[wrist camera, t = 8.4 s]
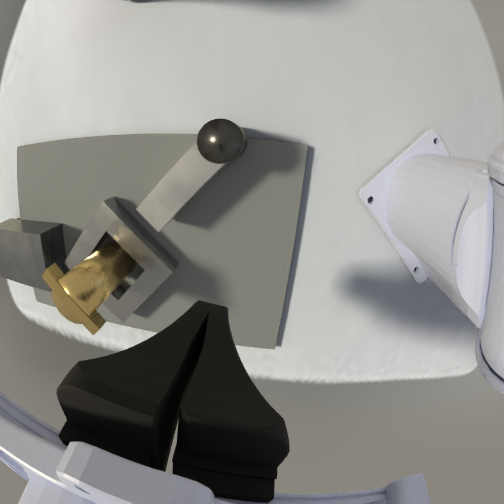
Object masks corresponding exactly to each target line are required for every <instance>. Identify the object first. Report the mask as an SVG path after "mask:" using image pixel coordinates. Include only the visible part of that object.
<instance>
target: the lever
mask: <svg viewBox="0 0 504 504" xmlns="http://www.w3.org/2000/svg"><path fill="white" fill-rule="evenodd" d="M247 143H248V141H247V136H246V133H245V132H244V130H243V129H242V128H241V127H239V126H238V125H236V124H235V123H233V122H232V121H229V120H227V119H214V120H211V121H209V122H208V123H206V124H205V125H204V126H203V127H202V128H201V130H200V131H199V133H198V136H197V142H196V143H195V144H194V145H193V146H192V147H191V148H190V149H189V150H188V151H187V152H186V153H185V154H184V155H183V156H182V157H181V159H180V160H179V161H178V162H177V163H176V164H175V165H174V166H173V167H172V168H171V169H170V170H169V172H168V173H167V174H166V175H165V176H164V177H163V178H162V179H161V181H160V182H159V183H158V184H157V185H156V186H155V187H154V189H153V190H152V191H151V192H150V193H149V194H148V196H147V197H146V198H145V199H144V200H143V202H142V203H141V204H140V205H139V206H138V208H137V209H136V210H137V211H138V212H139V213H140V214H141V215H142V216H143V217H144V218H145V219H146V220H147V221H148V222H149V223H150V224H151V225H152V226H153V227H154V228H155V229H156V230H157V231H158V232H159V231H160V230H162V229H163V228H164V227H165V226H166V225H168V224H169V223H170V222H171V221H172V220H173V219H174V218H175V217H176V216H177V215H178V214H179V213H180V211H181V210H182V209H183V208H184V207H185V206H186V205H187V204H188V203H189V202H190V201H191V200H192V199H193V198H194V197H195V196H196V195H197V194H198V193H199V192H200V191H201V190H202V189H203V188H204V187H205V186H206V185H207V184H208V183H209V182H210V181H211V180H212V179H213V178H214V177H215V176H216V175H217V174H218V173H219V172H220V171H221V170H222V169H223V168H224V167H225V166H226V165H227V164H228V163H229V162H230V161H232V160H235V159H237V158H239V157H240V156H241V155H242V154H243V153H244V152H245V150H246V148H247Z"/></svg>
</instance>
